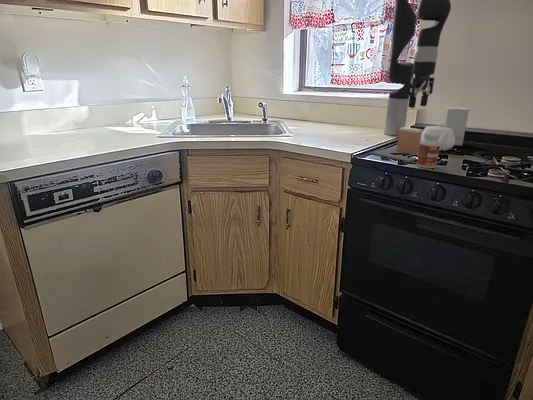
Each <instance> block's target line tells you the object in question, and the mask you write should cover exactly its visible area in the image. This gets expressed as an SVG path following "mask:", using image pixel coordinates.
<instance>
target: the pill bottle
mask: <svg viewBox="0 0 533 400" xmlns="http://www.w3.org/2000/svg"><path fill="white" fill-rule="evenodd" d="M439 136H440V134H437V133H424V139H423V140H422V141H421V143H420V147H419V153H418V159H417V161H416V165H417V166H418V167H420V168H424V169H434V168H436V166H437V163H438V159H439V153H440V150H439V149H440V142H439V141H438V139H439Z"/></svg>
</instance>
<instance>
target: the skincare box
mask: <svg viewBox="0 0 533 400" xmlns="http://www.w3.org/2000/svg"><path fill="white" fill-rule="evenodd" d="M445 111H446V112H445V117H444V122H443V127H448V128H452V129H453V132H454V136H455V144H454V146H461V147H462V146H463V143H464V139H465V132H466V127H467V124H468V123H467V122H468V118H469V113H470V109H469V108H467V107H449V106H447V107H446V110H445Z"/></svg>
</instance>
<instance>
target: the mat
mask: <svg viewBox="0 0 533 400" xmlns="http://www.w3.org/2000/svg"><path fill="white" fill-rule="evenodd" d="M396 149H397V146H394V147H390V148H389V147H388V148H385V149H381V150H375V151H370V155H373V156H377V157H382V158H387V159H390V160H395V161H400V160H402V161H401V162H404V163H409V164H410V163H414V162H416V161H415V160H417V159H416V158H408V157H404V156H403V155H393V154H390V153H403V152H398V151H396ZM418 153H419V152H418Z"/></svg>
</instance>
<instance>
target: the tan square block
mask: <svg viewBox="0 0 533 400" xmlns="http://www.w3.org/2000/svg"><path fill="white" fill-rule="evenodd" d="M422 132H423V129H420V128H413V127H408V126H405V127H402V128H400V130H399V136H397V138H398V139H397V144H396V147H397V149H396V151H398V152H403V153H409V154H417V153H418V152H419V148H420V141H421V135H422Z"/></svg>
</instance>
